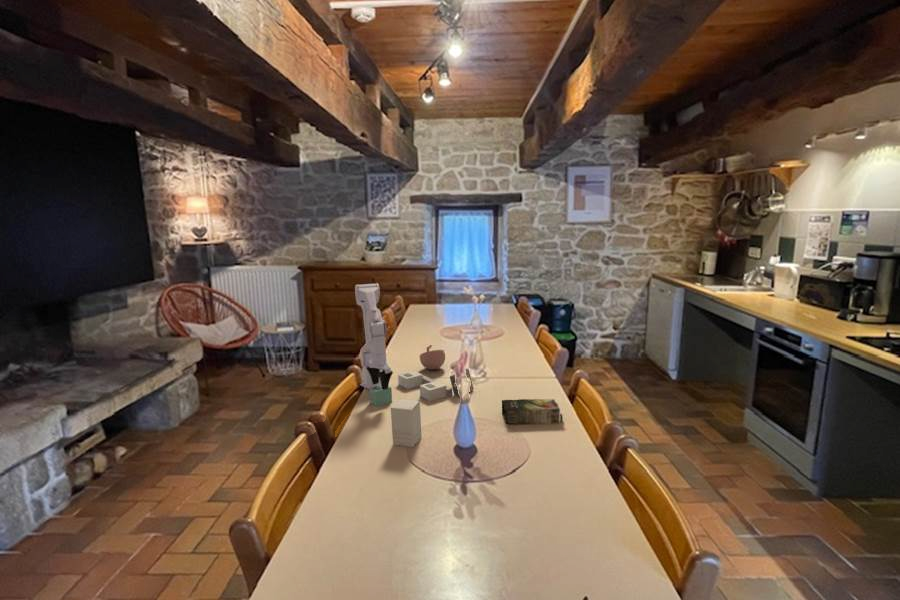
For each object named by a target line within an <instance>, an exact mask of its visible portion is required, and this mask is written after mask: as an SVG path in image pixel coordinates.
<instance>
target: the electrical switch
mask: <svg viewBox="0 0 900 600" xmlns="http://www.w3.org/2000/svg"><path fill="white" fill-rule="evenodd" d="M465 369H466V375H467V377H468V378H470V380H471V386H470V392H469V393H471V392H473V391H474V389H475V388H474V385H473V381H472V375H471V374H470V370H469V368H465ZM449 379H450V383H451V388H452V393H453V395H454V396H455V395H457V396H458V397H459V394H458V389H457V386H456V384H455V373H454V374H452V375H450V376H449Z"/></svg>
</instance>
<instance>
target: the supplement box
mask: <svg viewBox="0 0 900 600" xmlns="http://www.w3.org/2000/svg"><path fill="white" fill-rule="evenodd" d="M390 415H391V416H390V417H391V431H392V432H391V435H392V445H396V446H404V447H410V448H414V447H415V444H417V443H419V441H420V440H421V439H420V438H422V437H423V436H422V419H421V416H422V415H421V401H420V400H413V399H412V400H411V399H401V398H400V399H399V400H398V401H396V402H395V403H394V404H393V405H392V406H391V407H390ZM419 439H420V440H419Z"/></svg>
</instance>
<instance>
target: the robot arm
mask: <svg viewBox="0 0 900 600" xmlns="http://www.w3.org/2000/svg"><path fill="white" fill-rule="evenodd" d="M380 290H381V289H380V285H379V283H366V284H355V286H354V293H355V302H356V305H358V306H360V307H361V310H362V317H363V324H364V325H363V326H364V334H365V335H364V337H365V345H363V346H362V347H361V348H360V351H359V353H360V365H361V367H362V368H361V381H362V382H361V383H360V386H362V387H363V388H365V389H366V388H367V389H366V390H368V389H369V388H372V387H375V386H379V385H381V386H382V389H383V390H385V389H388V386H390V385H389V383H390V381H391V378H392V375H393V374H394V371H392V370H391V367H390V366H389V364H388V362H387V349H386V337H387V325H386V321H385V320H384V319H383V317H382V316H383V315H382V313H381V310H380V309H379V308H377V304H378V303H379V301H380V295H381V291H380Z"/></svg>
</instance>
